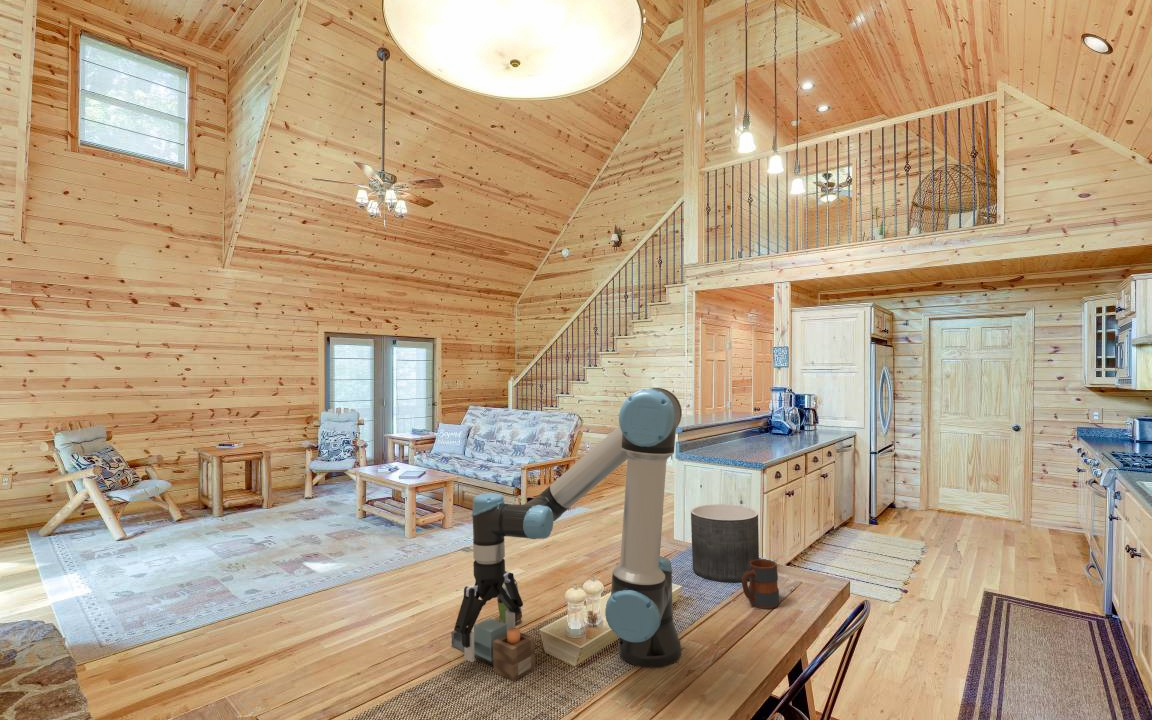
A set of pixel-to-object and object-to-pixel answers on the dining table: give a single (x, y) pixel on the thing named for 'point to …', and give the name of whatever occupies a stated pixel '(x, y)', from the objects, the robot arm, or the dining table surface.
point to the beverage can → (503, 608)
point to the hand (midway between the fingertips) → (490, 648)
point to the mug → (762, 584)
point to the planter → (724, 541)
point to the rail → (458, 644)
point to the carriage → (487, 637)
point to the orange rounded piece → (513, 636)
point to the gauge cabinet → (514, 657)
